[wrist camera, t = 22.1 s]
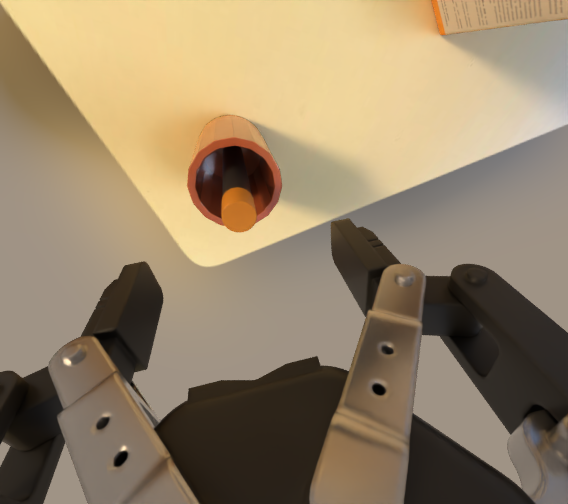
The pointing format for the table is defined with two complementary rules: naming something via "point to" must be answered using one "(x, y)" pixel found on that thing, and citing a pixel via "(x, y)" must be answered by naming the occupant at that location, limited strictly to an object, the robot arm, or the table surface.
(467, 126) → the table surface
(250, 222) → the marker
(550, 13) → the supplement box
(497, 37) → the table surface
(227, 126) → the pen cup
